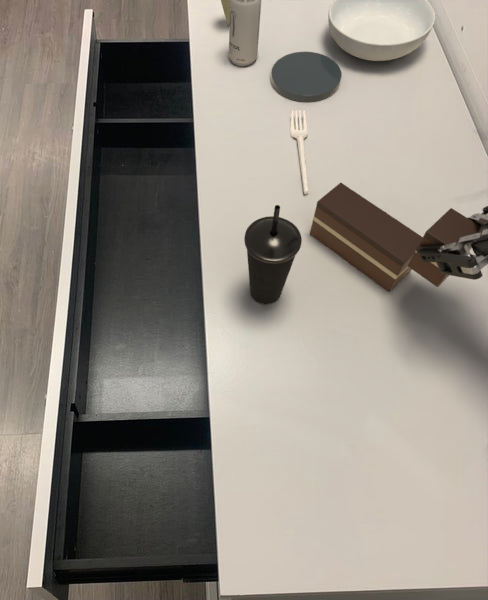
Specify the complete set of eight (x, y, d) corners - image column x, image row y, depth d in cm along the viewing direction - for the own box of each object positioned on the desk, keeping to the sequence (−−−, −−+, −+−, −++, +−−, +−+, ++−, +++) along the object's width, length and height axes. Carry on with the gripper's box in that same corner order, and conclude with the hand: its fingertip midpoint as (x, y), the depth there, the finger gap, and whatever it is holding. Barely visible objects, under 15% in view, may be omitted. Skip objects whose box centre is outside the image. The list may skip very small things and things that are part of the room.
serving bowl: (322, 14, 119) (327, -17, 113) (418, 16, 117) (429, -16, 111) (324, 73, 109) (330, 42, 103) (429, 76, 107) (442, 45, 101)
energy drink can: (225, 53, 114) (226, -18, 101) (251, 47, 114) (256, -25, 101) (233, 70, 111) (235, -1, 98) (261, 64, 111) (266, -8, 98)
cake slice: (430, 243, 77) (451, 207, 70) (460, 264, 75) (485, 228, 68) (407, 266, 75) (425, 231, 68) (437, 287, 73) (460, 254, 66)
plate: (333, 55, 112) (334, 49, 110) (346, 99, 104) (347, 93, 103) (267, 60, 112) (267, 53, 111) (275, 104, 105) (276, 98, 103)
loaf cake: (331, 215, 90) (340, 182, 83) (410, 271, 84) (428, 240, 77) (309, 233, 88) (317, 201, 81) (388, 292, 82) (404, 262, 75)
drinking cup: (249, 265, 86) (257, 178, 68) (295, 278, 84) (315, 192, 67) (234, 303, 82) (238, 221, 65) (282, 318, 80) (299, 238, 63)
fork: (296, 195, 93) (297, 188, 91) (288, 117, 103) (289, 109, 101) (315, 195, 92) (316, 187, 91) (305, 117, 103) (307, 109, 101)
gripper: (542, 304, 56) (411, 293, 71) (608, 228, 60) (472, 233, 76) (520, 245, 54) (389, 247, 69) (591, 170, 58) (454, 187, 73)
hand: (433, 239), depth 72 cm, fingers closed on cake slice, 5 cm apart
